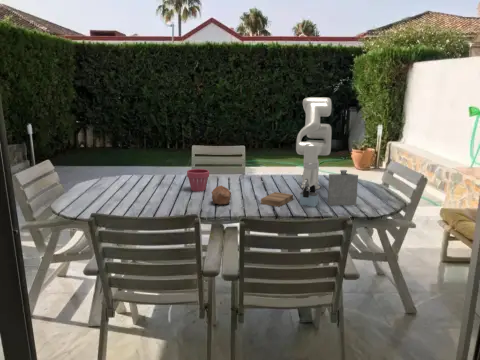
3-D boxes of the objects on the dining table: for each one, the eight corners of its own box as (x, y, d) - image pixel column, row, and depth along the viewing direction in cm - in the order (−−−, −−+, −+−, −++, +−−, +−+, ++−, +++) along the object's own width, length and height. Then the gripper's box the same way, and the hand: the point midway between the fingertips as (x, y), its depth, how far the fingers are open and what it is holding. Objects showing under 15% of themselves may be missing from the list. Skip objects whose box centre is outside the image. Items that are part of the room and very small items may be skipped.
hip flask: (327, 204, 230) (329, 170, 226) (327, 202, 234) (328, 169, 230) (356, 205, 228) (358, 171, 224) (355, 203, 232) (357, 169, 228)
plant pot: (211, 187, 270) (210, 168, 267) (207, 193, 256) (207, 173, 253) (190, 187, 271) (189, 168, 268) (185, 192, 257) (184, 172, 255)
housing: (303, 202, 235) (303, 191, 234) (317, 204, 231) (318, 193, 229) (299, 204, 231) (300, 192, 230) (314, 206, 227) (315, 195, 225)
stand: (274, 196, 247) (275, 191, 247) (293, 199, 241) (293, 194, 241) (260, 203, 232) (261, 198, 232) (279, 206, 226) (280, 201, 226)
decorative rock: (211, 200, 239) (211, 184, 237) (230, 200, 240) (230, 183, 238) (211, 206, 227) (211, 189, 224) (231, 206, 227) (231, 189, 225)
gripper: (309, 163, 235) (308, 191, 239) (297, 167, 221) (296, 197, 224) (322, 164, 231) (320, 193, 235) (310, 168, 217) (309, 199, 220)
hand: (309, 195), depth 229 cm, fingers open, 9 cm apart
